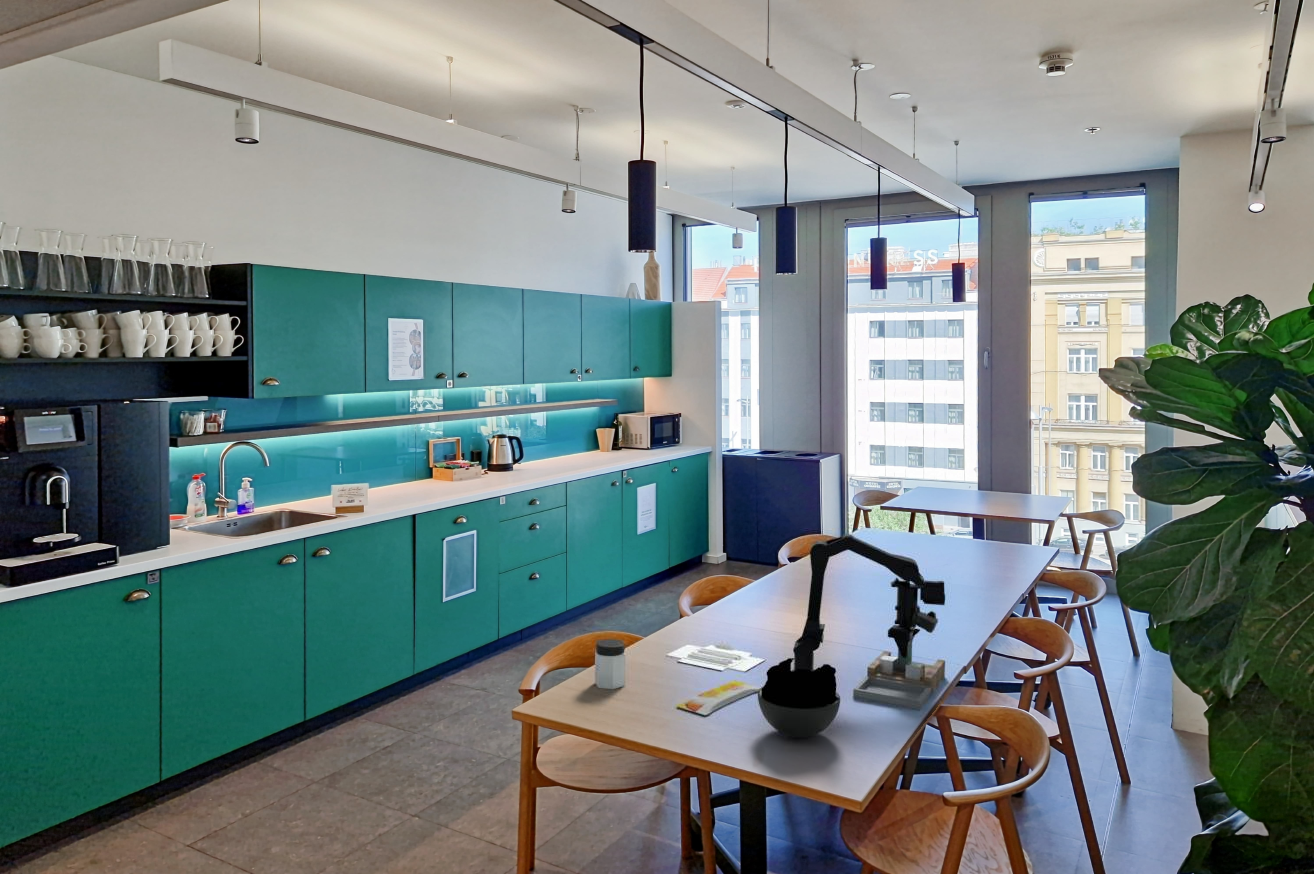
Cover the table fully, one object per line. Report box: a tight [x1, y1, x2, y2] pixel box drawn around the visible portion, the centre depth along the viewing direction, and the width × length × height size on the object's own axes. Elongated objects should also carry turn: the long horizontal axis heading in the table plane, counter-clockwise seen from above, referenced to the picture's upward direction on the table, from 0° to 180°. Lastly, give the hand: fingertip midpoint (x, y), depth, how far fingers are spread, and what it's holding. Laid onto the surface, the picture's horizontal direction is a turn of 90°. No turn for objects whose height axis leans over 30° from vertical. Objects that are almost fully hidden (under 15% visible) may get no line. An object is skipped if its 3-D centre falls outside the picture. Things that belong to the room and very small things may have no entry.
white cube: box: [879, 655, 898, 675], centre depth 259 cm, size 4×4×4 cm
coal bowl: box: [757, 657, 841, 739], centre depth 219 cm, size 20×20×19 cm
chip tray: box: [852, 675, 932, 711], centre depth 247 cm, size 13×18×2 cm
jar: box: [594, 638, 626, 690], centre depth 254 cm, size 9×8×12 cm
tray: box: [665, 640, 766, 673], centre depth 280 cm, size 20×28×4 cm
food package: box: [676, 680, 762, 716], centre depth 244 cm, size 27×2×10 cm
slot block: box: [866, 650, 946, 696], centre depth 261 cm, size 18×18×5 cm
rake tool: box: [897, 639, 925, 675], centre depth 259 cm, size 3×11×9 cm, turn 54°
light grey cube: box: [905, 660, 924, 681], centre depth 254 cm, size 4×4×4 cm
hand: (905, 655), depth 259 cm, fingers closed on rake tool, 3 cm apart
